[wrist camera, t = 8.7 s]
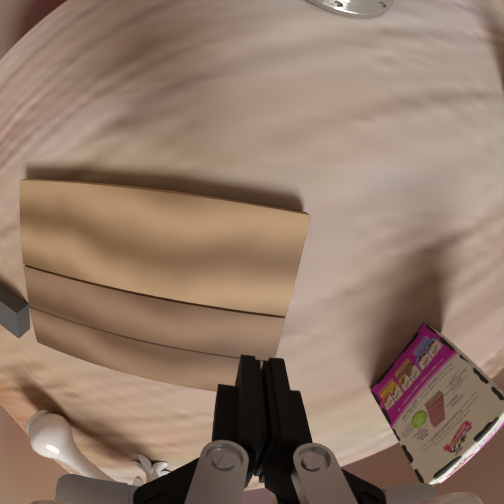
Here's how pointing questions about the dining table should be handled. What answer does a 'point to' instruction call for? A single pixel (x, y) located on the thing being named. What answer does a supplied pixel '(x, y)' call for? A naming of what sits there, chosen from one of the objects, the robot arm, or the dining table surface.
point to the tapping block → (13, 312)
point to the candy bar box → (438, 405)
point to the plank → (164, 242)
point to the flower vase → (75, 448)
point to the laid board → (147, 331)
